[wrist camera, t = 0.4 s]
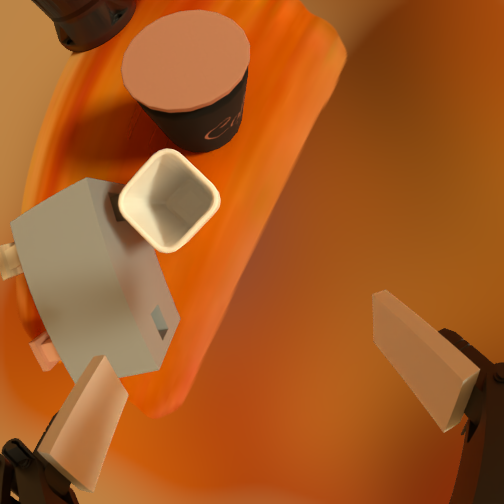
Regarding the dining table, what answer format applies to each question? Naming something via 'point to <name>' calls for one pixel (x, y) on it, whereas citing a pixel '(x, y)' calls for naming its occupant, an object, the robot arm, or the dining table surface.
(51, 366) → the terracotta plunger
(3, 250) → the pale plunger
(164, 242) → the cup
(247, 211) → the dining table surface
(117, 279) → the wall block
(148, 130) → the dining table surface
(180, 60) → the coffee jar
